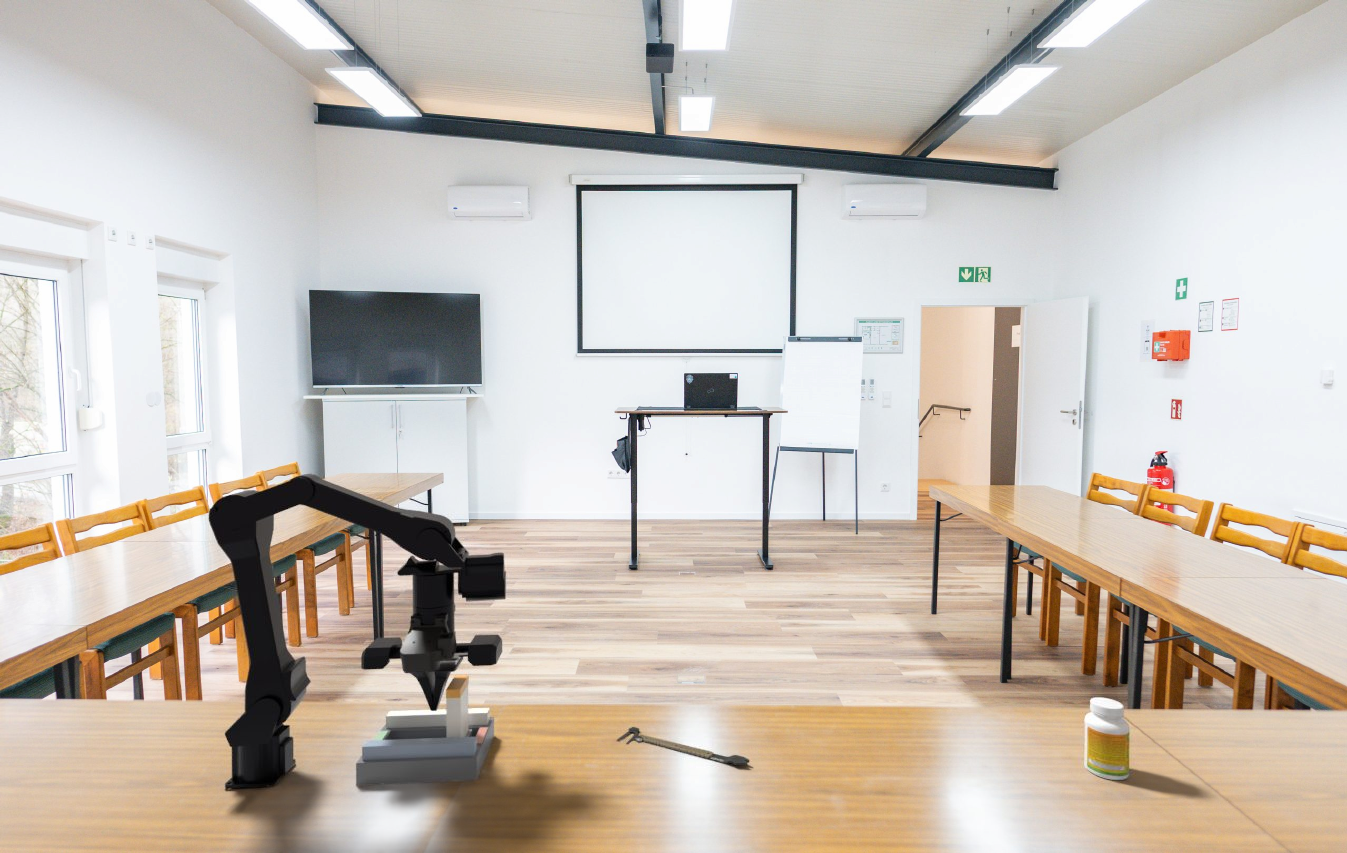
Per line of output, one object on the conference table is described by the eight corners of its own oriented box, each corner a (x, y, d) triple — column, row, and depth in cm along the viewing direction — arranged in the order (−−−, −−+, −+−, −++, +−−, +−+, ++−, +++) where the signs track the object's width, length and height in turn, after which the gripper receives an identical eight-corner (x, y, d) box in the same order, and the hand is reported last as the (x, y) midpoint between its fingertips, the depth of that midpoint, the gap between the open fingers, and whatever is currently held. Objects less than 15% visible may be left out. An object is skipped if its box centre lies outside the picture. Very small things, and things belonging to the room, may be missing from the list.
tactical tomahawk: (606, 753, 103) (606, 746, 103) (631, 732, 109) (631, 725, 108) (731, 789, 92) (731, 781, 92) (751, 764, 98) (751, 756, 98)
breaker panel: (356, 784, 92) (355, 749, 92) (388, 739, 105) (388, 708, 105) (476, 780, 93) (476, 745, 93) (494, 735, 106) (494, 705, 106)
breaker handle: (442, 754, 96) (442, 689, 96) (451, 737, 102) (451, 675, 102) (464, 754, 97) (463, 689, 97) (472, 736, 102) (472, 674, 102)
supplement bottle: (1136, 783, 93) (1137, 712, 92) (1092, 778, 94) (1093, 708, 94) (1118, 763, 98) (1119, 696, 98) (1077, 759, 99) (1078, 693, 99)
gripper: (345, 621, 90) (346, 738, 90) (488, 617, 91) (489, 732, 92) (375, 599, 101) (376, 703, 101) (502, 595, 103) (503, 698, 103)
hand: (434, 709), depth 99 cm, fingers closed
